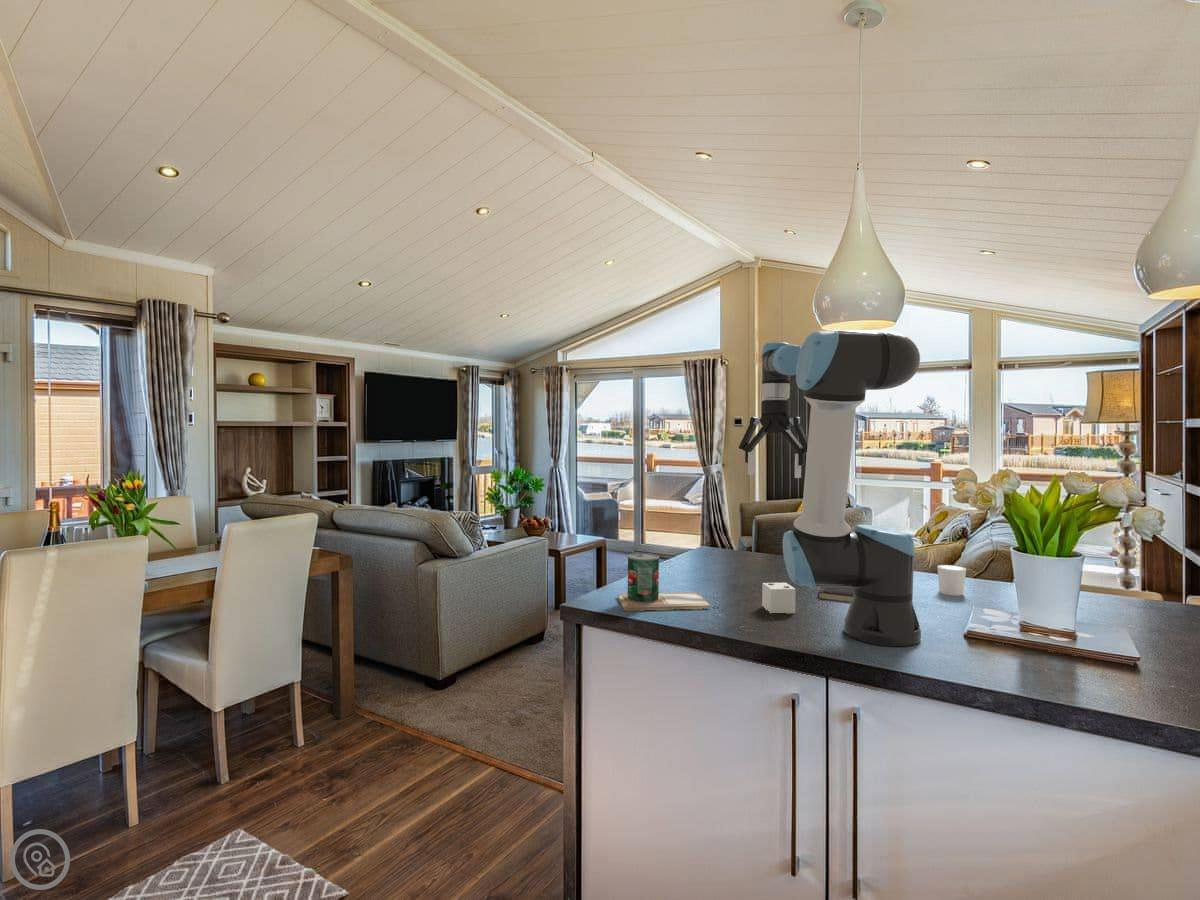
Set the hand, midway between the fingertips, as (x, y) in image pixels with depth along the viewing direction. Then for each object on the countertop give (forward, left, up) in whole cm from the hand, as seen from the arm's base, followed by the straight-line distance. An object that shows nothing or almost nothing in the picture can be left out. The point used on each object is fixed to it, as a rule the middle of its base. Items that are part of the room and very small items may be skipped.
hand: (773, 476), depth 177 cm
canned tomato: (-14, +39, -30) cm, 51 cm away
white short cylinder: (-11, -46, -31) cm, 56 cm away
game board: (-14, +34, -31) cm, 48 cm away
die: (-22, +7, -31) cm, 38 cm away
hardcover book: (-7, -20, -31) cm, 38 cm away
